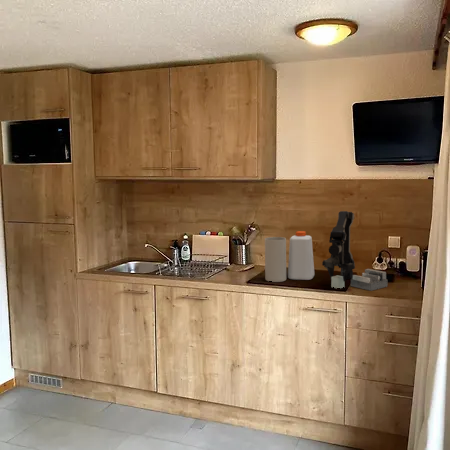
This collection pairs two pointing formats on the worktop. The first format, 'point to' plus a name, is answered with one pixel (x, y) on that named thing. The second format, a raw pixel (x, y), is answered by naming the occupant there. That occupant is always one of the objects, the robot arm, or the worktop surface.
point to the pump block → (337, 281)
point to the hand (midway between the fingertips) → (338, 279)
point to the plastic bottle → (301, 257)
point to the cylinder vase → (275, 259)
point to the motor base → (370, 280)
